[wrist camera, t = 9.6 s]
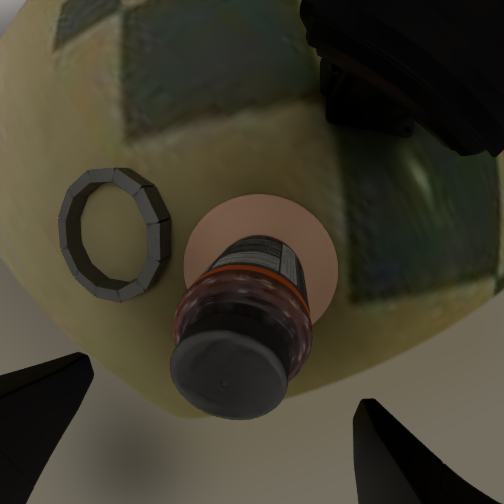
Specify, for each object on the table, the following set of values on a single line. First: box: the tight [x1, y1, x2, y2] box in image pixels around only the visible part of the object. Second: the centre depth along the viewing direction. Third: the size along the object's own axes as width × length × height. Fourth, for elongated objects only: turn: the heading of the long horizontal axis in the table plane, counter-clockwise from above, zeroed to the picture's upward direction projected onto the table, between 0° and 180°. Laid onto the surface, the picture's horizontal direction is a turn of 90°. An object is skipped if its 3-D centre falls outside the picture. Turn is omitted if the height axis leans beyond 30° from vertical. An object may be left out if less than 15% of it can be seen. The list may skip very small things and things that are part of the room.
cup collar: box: [58, 168, 171, 303], centre depth 20 cm, size 10×10×2 cm
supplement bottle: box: [170, 235, 313, 420], centre depth 14 cm, size 6×6×11 cm
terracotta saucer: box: [184, 194, 338, 325], centre depth 19 cm, size 11×11×1 cm
